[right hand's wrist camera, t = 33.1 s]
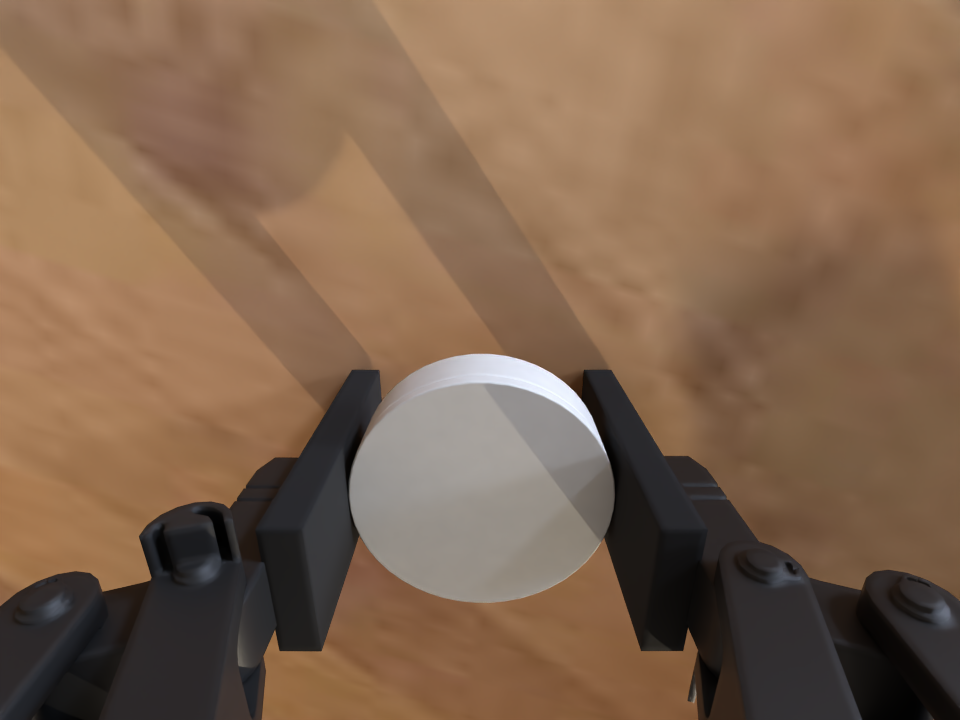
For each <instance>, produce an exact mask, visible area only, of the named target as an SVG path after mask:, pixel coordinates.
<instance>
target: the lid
mask: <svg viewBox="0 0 960 720" xmlns="http://www.w3.org/2000/svg"><path fill="white" fill-rule="evenodd" d="M348 495H349V503H350V510H351V514H352V517H353V521H354V524H355V526H356V528H357V531H358V533H359V535H360V537H361V539H362V540H363V542H364V543H365V545H366V547H367V548H368V550H369V551H370V552H371V553H372V554H373V556H374V557H375V558H376V559H377V560H378V561H379V562H380V563H381V564H382V565H383V566H384V567H385V568H386V569H387V570H389V571H390V572H391V573H393V574H394V575H395V576H397V577H398V578H400V579H401V580H403V581H404V582H406V583H408V584H410V585H412V586H413V587H415V588H418V589H420V590H422V591H425V592H427V593H430V594H433V595H436V596H439V597H442V598H447V599H452V600H457V601H464V602H474V603H492V602H502V601H509V600H514V599H519V598H523V597H527V596H530V595H533V594H536V593H539V592H541V591H544V590H546V589H548V588H551V587H552V586H554V585H556V584H558V583H559V582H561V581H563V580H565V579H566V578H567V577H569V576H570V575H571V574H573V573H574V572H576V571H577V570H578V569H579V568H580V567H581V566H582V565H583V564H584V563H585V562H586V561H587V560H588V559H589V558H590V557H591V556H592V554H593V553H594V552H595V551H596V549H597V548H598V546H599V545H600V543H601V541H602V540H603V538H604V536H605V534H606V532H607V529H608V527H609V525H610V521H611V518H612V514H613V510H614V502H615V482H614V476H613V471H612V467H611V464H610V461H609V459H608V456H607V453H606V451H605V448H604V446H603V443H602V441H601V438H600V436H599V433H598V431H597V428H596V426H595V423H594V421H593V418H592V416H591V414H590V413H589V411H588V409H587V407H586V406H585V404H584V403H583V402H582V400H581V399H580V398H579V397H578V395H577V394H576V393H575V392H574V391H573V390H572V389H571V388H570V387H569V386H568V385H567V384H566V383H564V382H563V381H562V380H560V379H559V378H558V377H556V376H555V375H553V374H552V373H550V372H548V371H546V370H545V369H543V368H541V367H539V366H537V365H534V364H532V363H529V362H526V361H524V360H521V359H516V358H512V357H508V356H502V355H494V354H469V355H461V356H454V357H451V358H447V359H443V360H439V361H437V362H434V363H432V364H429V365H426V366H424V367H422V368H420V369H419V370H417V371H415V372H413V373H411V374H410V375H409V376H407V377H406V378H404V379H403V380H402V381H400V382H399V383H398V384H397V385H396V386H395V387H394V388H393V389H392V390H391V391H390V392H389V393H388V394H387V395H386V396H385V398H384V399H383V400H382V402H381V403H380V404H379V405H378V407H377V409H376V411H375V413H374V415H373V416H372V418H371V421H370V423H369V425H368V427H367V430H366V432H365V434H364V436H363V439H362V441H361V444H360V446H359V448H358V450H357V452H356V455H355V458H354V461H353V464H352V467H351V472H350V477H349V492H348Z"/></svg>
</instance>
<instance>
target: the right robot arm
mask: <svg viewBox="0 0 960 720" xmlns="http://www.w3.org/2000/svg"><path fill="white" fill-rule="evenodd" d="M381 402H382V399H381V387H380V374H379V370H352V371H351V373H350V374H349V376H348V378H347V379H346V381H345V383H344V384H343V386H342V387H341V389H340V391H339V392H338V394H337V396H336V397H335V399H334V401H333V402H332V404H331V406H330V407H329V409H328V410H327V412H326V414H325V415H324V417H323V419H322V420H321V422H320V424H319V425H318V427H317V429H316V430H315V432H314V433H313V435H312V437H311V438H310V440H309V442H308V443H307V445H306V447H305V448H304V450H303V452H302V453H301V455H300V456H299V458H274V459H273V460H271V461H270V462H268V463H267V464H266V465H264V466H263V467H261V468H260V469H258V470H257V471H256V473H255V474H254V475H253V477H252V478H251V480H250V481H249V482H248V484H247V485H246V489H243V491H242V492H241V494H240V495H239V496H238V498H237V501H235V502H234V503H233V505H232V506H231V507H230V509H229V508H227V507H226V506H225V505H224V504H220V503H215V502H195V503H191V504H188V505H184V506H180V507H177V508H175V509H173V510H170V511H168V512H166V513H164V514H162V515H160V516H159V517H157V518H156V519H155V520H153V521H152V522H151V523H149V524H148V525H147V526H146V527H145V529H144V530H143V532H142V533H141V534H140V536H139V538H140V541H141V545H142V548H143V551H144V554H145V557H146V561H147V564H148V567H149V570H150V574H151V577H152V578H151V581H147V582H144V583H140V584H135V585H131V586H127V587H122V588H118V589H113V590H109V591H105V592H102V589H101V586H100V584H99V581H98V579H97V578H96V577H94V576H93V575H92V574H90V573H85V572H77V571H75V572H69V573H63V574H57V575H54V576H51V577H48V578H45V579H43V580H40V581H38V582H36V583H34V584H32V585H30V586H28V587H27V588H25V589H23V590H21V591H19V592H18V593H16V594H15V595H14V596H12V597H11V598H10V599H9V600H8V601H6V602H5V603H4V604H3V605H1V606H0V720H262V709H263V697H264V686H265V674H266V669H265V663H264V658H263V655H264V653H265V651H266V649H267V646H268V644H269V642H270V640H271V637H272V635H273V633H274V630H275V631H276V636H277V640H278V645H279V650H280V651H322V648H323V645H324V642H325V639H326V636H327V633H328V630H329V627H330V624H331V621H332V617H333V614H334V611H335V608H336V605H337V602H338V599H339V596H340V593H341V590H342V587H343V584H344V581H345V578H346V575H347V572H348V568H349V565H350V562H351V559H352V556H353V553H354V550H355V547H356V544H357V541H358V538H359V533H358V531H357V528H356V526H355V524H354V521H353V517H352V514H351V510H350V503H349V495H348V492H349V477H350V472H351V467H352V464H353V461H354V458H355V455H356V452H357V450H358V448H359V446H360V444H361V441H362V439H363V436H364V434H365V432H366V430H367V427H368V425H369V423H370V421H371V418H372V416H373V415H374V413H375V411H376V409H377V407H378V405H379V404H380V403H381ZM582 402H583V403H584V404H585V406H586V407H587V409H588V411H589V413H590V414H591V416H592V418H593V421H594V423H595V426H596V428H597V431H598V433H599V436H600V438H601V441H602V443H603V446H604V448H605V451H606V453H607V456H608V459H609V461H610V464H611V467H612V471H613V476H614V482H615V502H614V510H613V514H612V518H611V521H610V525H609V527H608V529H607V532H606V534H605V536H604V538H605V541H606V544H607V547H608V550H609V553H610V556H611V560H612V563H613V566H614V569H615V572H616V575H617V578H618V581H619V584H620V587H621V590H622V593H623V596H624V600H625V603H626V606H627V609H628V612H629V615H630V618H631V621H632V624H633V627H634V630H635V633H636V636H637V640H638V643H639V646H640V649H641V651H683V649H684V644H685V639H686V634H687V630H688V628H689V631H690V633H691V635H692V637H693V640H694V642H695V644H696V646H697V649H698V653H697V658H696V662H695V667H694V671H693V676H692V681H691V685H690V690H689V696H688V701H690V702H693V703H694V702H695V698H696V696H697V707H698V719H699V720H933V719H934V720H960V601H959V600H958V599H957V598H955V597H954V596H953V595H952V594H950V593H949V592H948V591H946V590H944V589H942V588H941V587H939V586H937V585H935V584H933V583H932V582H930V581H928V580H925V579H923V578H920V577H917V576H914V575H911V574H909V573H905V572H898V571H892V570H884V571H875V572H873V573H872V574H871V575H869V576H868V577H867V578H866V580H865V583H864V586H863V588H862V591H861V590H857V589H853V588H848V587H844V586H840V585H835V584H831V583H826V582H822V581H819V580H815V579H812V578H809V577H808V576H807V574H806V573H805V571H804V569H803V568H802V566H801V565H800V564H799V563H798V562H796V561H795V560H794V559H793V558H792V557H791V556H789V555H788V554H786V553H785V552H783V551H781V550H779V549H777V548H775V547H773V546H771V545H767V544H764V543H760V542H759V541H758V540H757V538H756V537H755V536H754V534H753V533H752V531H751V530H750V529H749V527H748V526H747V525H746V523H745V522H744V520H743V519H742V518H741V516H740V515H739V513H738V512H737V511H736V509H735V508H734V506H733V505H732V504H731V502H730V501H729V500H727V499H726V495H725V494H724V493H723V491H722V490H721V488H720V487H718V486H717V483H716V481H715V480H714V479H713V477H712V476H711V474H710V473H709V472H708V470H707V469H706V468H704V467H703V466H702V465H700V464H699V463H697V462H696V461H694V460H693V459H692V458H690V457H689V456H663V454H662V453H661V451H660V450H659V448H658V446H657V445H656V443H655V441H654V440H653V438H652V436H651V435H650V433H649V431H648V430H647V428H646V427H645V425H644V423H643V422H642V420H641V418H640V417H639V415H638V413H637V412H636V410H635V408H634V407H633V405H632V403H631V402H630V400H629V399H628V397H627V395H626V394H625V392H624V390H623V389H622V387H621V385H620V384H619V382H618V380H617V379H616V377H615V376H614V374H613V372H612V371H611V370H584V377H583V389H582Z"/></svg>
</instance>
